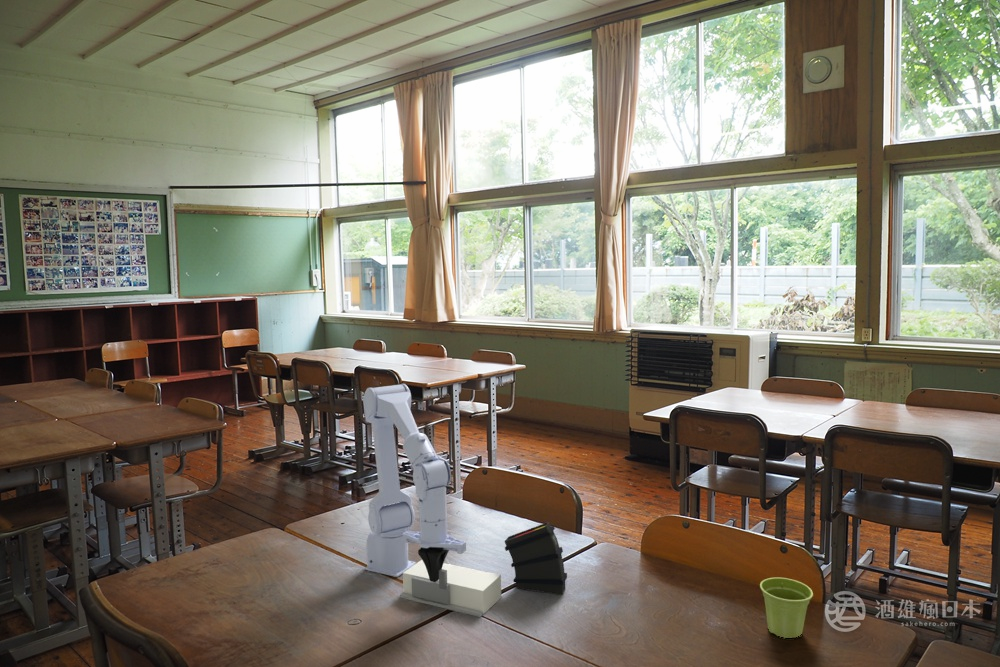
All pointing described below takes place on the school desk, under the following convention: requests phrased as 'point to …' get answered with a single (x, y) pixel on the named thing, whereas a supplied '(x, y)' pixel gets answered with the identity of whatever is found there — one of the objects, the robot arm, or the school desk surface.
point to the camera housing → (459, 588)
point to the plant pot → (785, 605)
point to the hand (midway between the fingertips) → (435, 579)
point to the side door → (432, 588)
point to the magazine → (537, 560)
